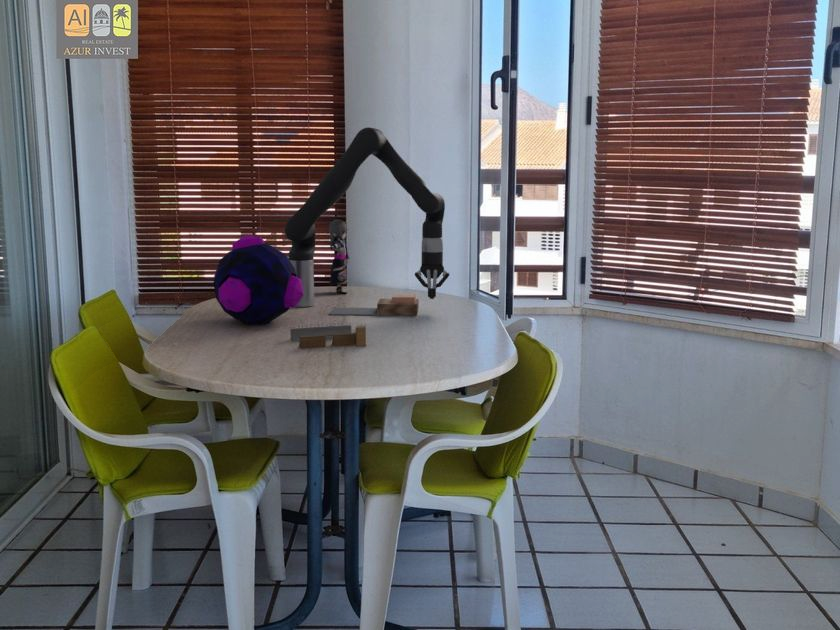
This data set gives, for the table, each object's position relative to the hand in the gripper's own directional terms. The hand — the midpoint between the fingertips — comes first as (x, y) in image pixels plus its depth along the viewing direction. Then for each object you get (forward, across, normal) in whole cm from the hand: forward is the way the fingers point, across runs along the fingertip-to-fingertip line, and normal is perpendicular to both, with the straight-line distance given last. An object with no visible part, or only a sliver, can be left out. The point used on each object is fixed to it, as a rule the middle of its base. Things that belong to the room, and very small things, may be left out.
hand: (431, 298), depth 323 cm
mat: (+5, -28, 0) cm, 29 cm away
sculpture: (+5, -58, -24) cm, 63 cm away
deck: (+5, -12, 0) cm, 13 cm away
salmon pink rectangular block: (+1, -10, 0) cm, 10 cm away
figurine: (+5, -39, +41) cm, 57 cm away
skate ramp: (+6, -28, -59) cm, 65 cm away
